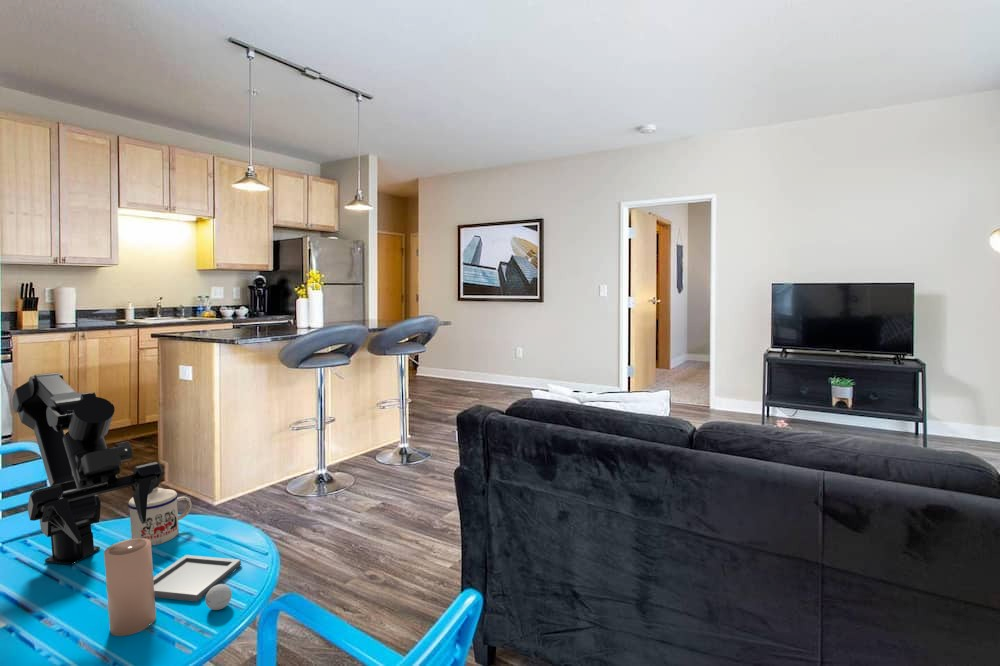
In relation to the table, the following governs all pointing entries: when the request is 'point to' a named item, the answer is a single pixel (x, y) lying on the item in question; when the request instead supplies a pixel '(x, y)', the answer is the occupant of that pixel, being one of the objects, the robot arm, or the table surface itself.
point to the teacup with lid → (158, 516)
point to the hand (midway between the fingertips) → (113, 532)
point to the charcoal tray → (192, 577)
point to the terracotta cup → (130, 586)
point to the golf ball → (218, 597)
